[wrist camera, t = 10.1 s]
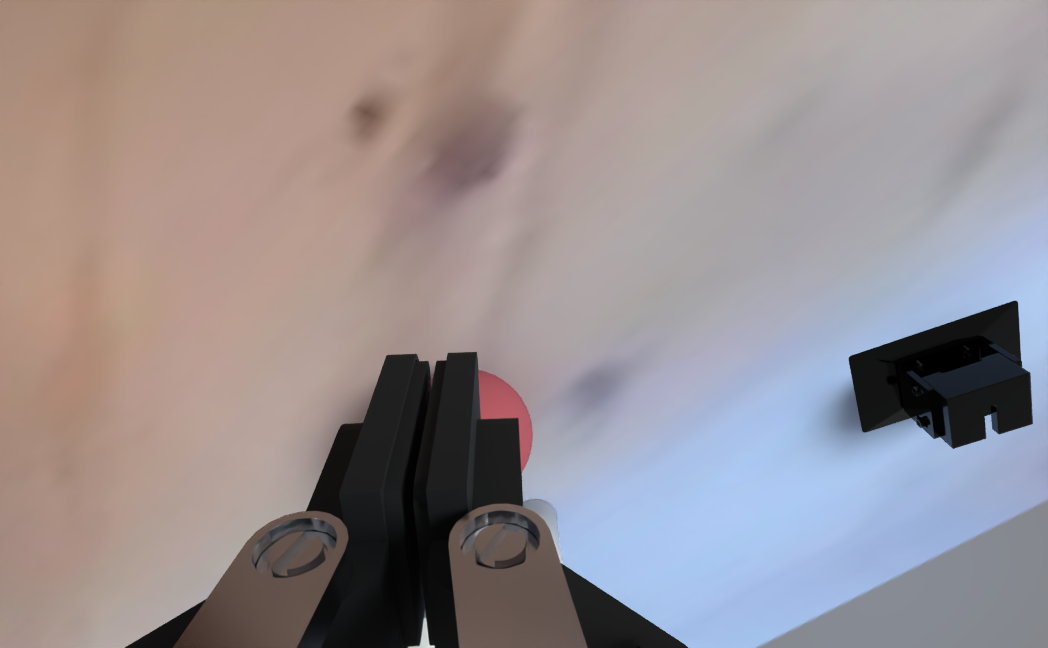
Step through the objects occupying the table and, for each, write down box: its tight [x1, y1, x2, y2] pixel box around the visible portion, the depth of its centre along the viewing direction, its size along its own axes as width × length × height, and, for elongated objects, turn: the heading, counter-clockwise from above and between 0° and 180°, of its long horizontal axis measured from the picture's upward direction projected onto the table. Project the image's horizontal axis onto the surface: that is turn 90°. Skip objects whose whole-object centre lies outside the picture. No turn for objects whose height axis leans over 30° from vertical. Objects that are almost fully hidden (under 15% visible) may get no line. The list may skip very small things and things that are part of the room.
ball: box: [431, 370, 533, 473], centre depth 29 cm, size 6×6×6 cm
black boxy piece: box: [849, 301, 1033, 449], centre depth 31 cm, size 12×7×5 cm, turn 111°
